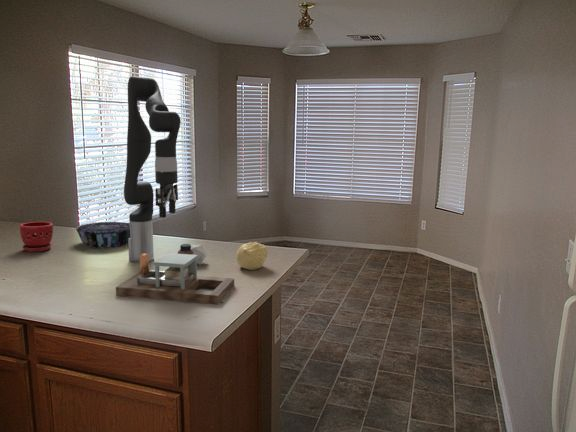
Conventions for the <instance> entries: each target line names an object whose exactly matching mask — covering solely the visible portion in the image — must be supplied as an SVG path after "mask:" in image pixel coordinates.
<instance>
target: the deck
mask: <svg viewBox="0 0 576 432" xmlns="http://www.w3.org/2000/svg"><path fill="white" fill-rule="evenodd" d="M140 275H141V274H140V271H139V272H138V273H136V274H135V275H133V276H131V277H130V278H128V279H127V280H125V281H123V282H121V283H120V284H118V285H116V286H115V296H118V297H131V298H142V299H151V300H152V299H153V300H163V301H175V302H185V303H199V304H209V305H219V304H220V303H222V301H223V300H224V299H225V297H227V296H228V294H229V293H230V292H231V290H233V289H234V288H235V278H231V277H218V276H207V275H205V276H204V275H197V279H193V280H192V281H191V282H190V283H189V284H187V285H186V286H185V289H181V287H178V286H166V285H160V287H156V285H154V284H142V283H137V277H139V276H140ZM149 278H155V277H153V276H150V277H149ZM160 278H161V277H160Z"/></svg>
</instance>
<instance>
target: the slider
mask: <svg viewBox="0 0 576 432" xmlns="http://www.w3.org/2000/svg"><path fill="white" fill-rule="evenodd" d="M139 256H140V262H139V272H140V274H141V275H140V276H139V277H137V283H142V284H154V285H156V278H149V277H150V276H153V277H155V269H150V264H149V263H150V261H149V257H148V254H147V253H143V254H140V255H139ZM159 274H160V277H161V278H160V285H166V286H178V287H181V280H174V279H165V270H159ZM193 279H194V273H188V276H187V277H186V278H185V286H186V285H187V284H189V283H190V282H191V281H192V280H193Z"/></svg>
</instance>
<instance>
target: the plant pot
mask: <svg viewBox="0 0 576 432" xmlns="http://www.w3.org/2000/svg"><path fill="white" fill-rule="evenodd" d="M19 232H20V237H21V241H22V242H23V246H22V249H23V250H24V251H26V252H29V253H33V252H34V253H35V252H44V251H47V250H49V249H50V248H51V247H52V242H51V241H52V239H53V233H54V224H53V223H52V222H49V221H48V222H47V221H31V222H25V223H21V224H20V225H19Z"/></svg>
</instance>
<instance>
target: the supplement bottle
mask: <svg viewBox="0 0 576 432" xmlns="http://www.w3.org/2000/svg"><path fill="white" fill-rule="evenodd" d="M191 245H192V244H191V243H182V244H180V247H179V248H180V249H179V250H178V251H177V254H190V255H193V250H191Z"/></svg>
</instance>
